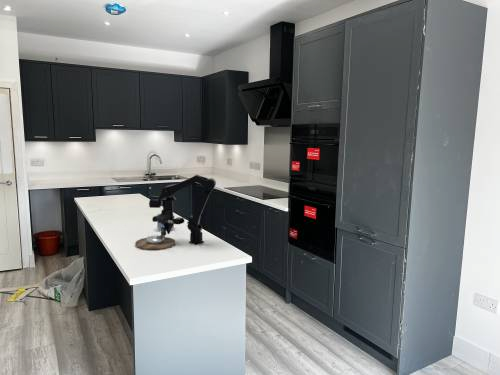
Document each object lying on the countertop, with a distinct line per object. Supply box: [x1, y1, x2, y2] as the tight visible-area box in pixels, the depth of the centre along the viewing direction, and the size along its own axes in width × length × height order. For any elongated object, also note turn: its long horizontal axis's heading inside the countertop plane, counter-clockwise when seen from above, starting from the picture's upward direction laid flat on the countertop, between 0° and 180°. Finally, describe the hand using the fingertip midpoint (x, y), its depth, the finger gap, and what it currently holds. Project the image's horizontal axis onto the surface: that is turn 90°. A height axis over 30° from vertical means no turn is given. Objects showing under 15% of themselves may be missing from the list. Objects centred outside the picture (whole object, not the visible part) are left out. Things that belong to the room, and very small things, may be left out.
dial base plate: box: [134, 236, 176, 251], centre depth 216 cm, size 22×22×2 cm
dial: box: [145, 227, 167, 244], centre depth 218 cm, size 14×10×6 cm
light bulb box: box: [156, 212, 175, 232], centre depth 248 cm, size 11×7×11 cm, turn 105°
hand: (168, 234), depth 222 cm, fingers closed
